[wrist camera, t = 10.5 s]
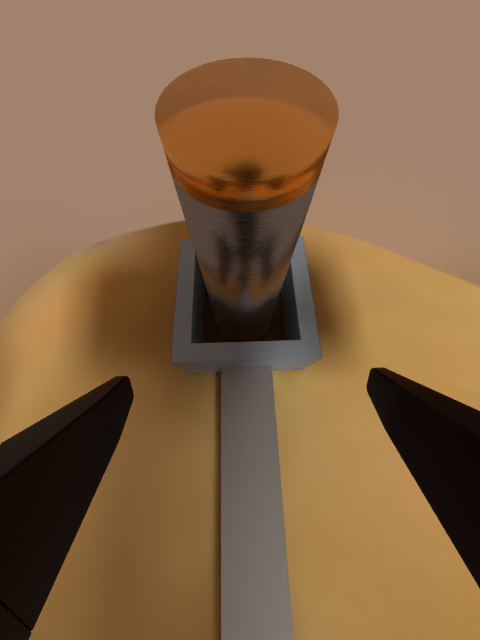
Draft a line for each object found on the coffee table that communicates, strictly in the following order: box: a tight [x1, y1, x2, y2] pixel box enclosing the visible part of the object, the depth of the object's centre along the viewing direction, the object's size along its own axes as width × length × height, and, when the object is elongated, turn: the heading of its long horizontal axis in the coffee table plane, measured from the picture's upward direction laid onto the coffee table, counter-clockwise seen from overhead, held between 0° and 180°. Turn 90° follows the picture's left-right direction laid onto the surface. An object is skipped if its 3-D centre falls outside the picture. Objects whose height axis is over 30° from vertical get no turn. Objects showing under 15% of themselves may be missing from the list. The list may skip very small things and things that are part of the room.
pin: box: [155, 58, 339, 342], centre depth 11 cm, size 4×4×13 cm
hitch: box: [171, 236, 322, 640], centre depth 12 cm, size 24×8×4 cm, turn 2°
